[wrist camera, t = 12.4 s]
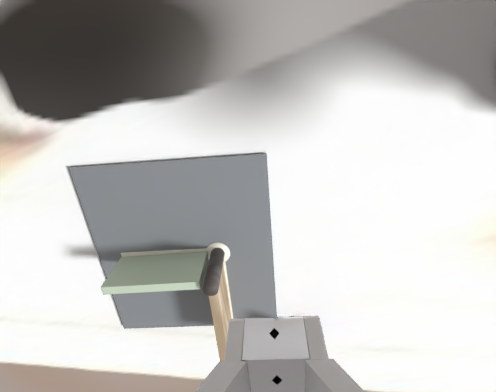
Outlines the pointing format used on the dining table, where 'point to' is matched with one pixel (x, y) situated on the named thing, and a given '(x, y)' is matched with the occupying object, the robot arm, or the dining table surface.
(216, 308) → the panel
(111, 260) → the board
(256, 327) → the robot arm
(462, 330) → the dining table surface
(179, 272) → the folding panel
